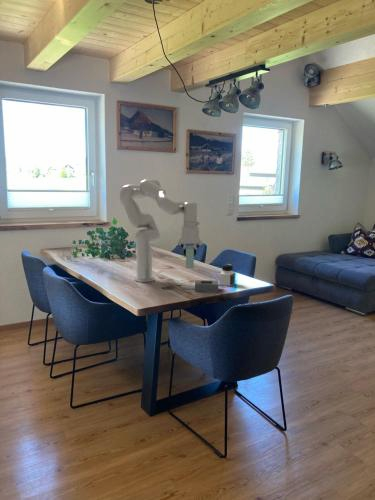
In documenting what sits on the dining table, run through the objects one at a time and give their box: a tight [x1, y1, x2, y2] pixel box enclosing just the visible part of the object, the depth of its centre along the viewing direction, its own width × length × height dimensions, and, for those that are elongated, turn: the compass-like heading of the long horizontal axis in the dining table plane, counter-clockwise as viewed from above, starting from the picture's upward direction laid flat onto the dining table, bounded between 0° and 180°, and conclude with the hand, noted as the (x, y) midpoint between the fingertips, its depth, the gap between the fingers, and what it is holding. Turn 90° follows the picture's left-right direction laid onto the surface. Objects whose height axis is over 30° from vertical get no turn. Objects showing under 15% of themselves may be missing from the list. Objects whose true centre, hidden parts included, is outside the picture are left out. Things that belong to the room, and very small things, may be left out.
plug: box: [185, 245, 195, 269], centre depth 227 cm, size 5×5×12 cm
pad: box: [182, 284, 195, 290], centre depth 230 cm, size 7×7×1 cm
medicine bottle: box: [218, 263, 236, 287], centre depth 238 cm, size 7×7×12 cm
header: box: [194, 279, 219, 293], centre depth 226 cm, size 9×13×4 cm
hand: (189, 255), depth 227 cm, fingers closed on plug, 4 cm apart
